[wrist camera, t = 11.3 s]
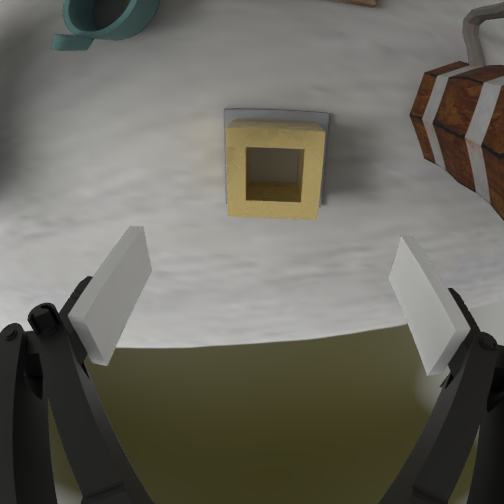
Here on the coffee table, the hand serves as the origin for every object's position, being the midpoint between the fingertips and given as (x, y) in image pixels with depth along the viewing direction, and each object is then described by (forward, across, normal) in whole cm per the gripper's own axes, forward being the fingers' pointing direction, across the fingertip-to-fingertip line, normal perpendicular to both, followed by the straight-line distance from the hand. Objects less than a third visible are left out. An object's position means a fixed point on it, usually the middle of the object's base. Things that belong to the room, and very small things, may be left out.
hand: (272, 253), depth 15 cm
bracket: (+18, -16, +18) cm, 30 cm away
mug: (+18, +20, +10) cm, 29 cm away
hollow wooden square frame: (+17, 0, 0) cm, 17 cm away
